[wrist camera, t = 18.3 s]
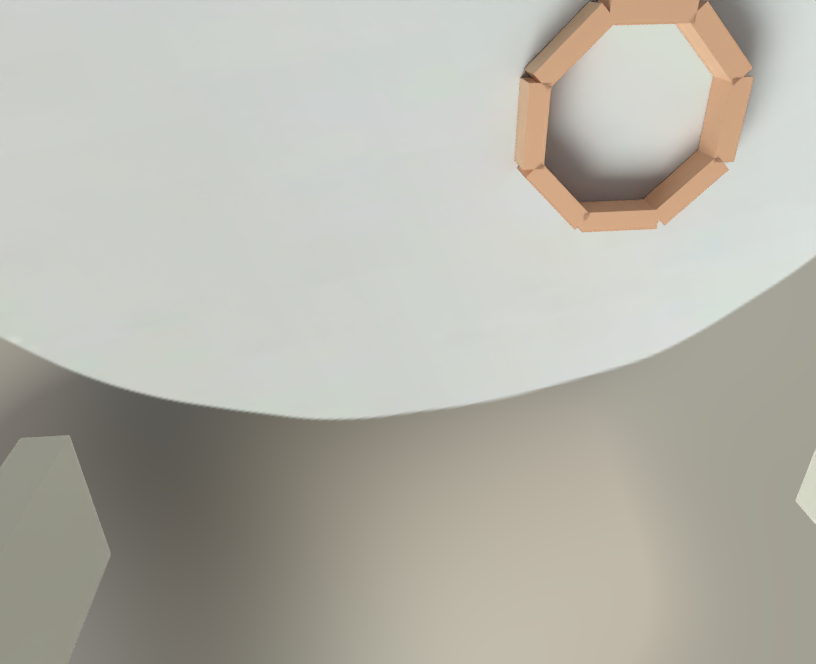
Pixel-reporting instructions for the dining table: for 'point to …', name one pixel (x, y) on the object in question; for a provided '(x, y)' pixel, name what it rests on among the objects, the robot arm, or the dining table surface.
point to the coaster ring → (720, 133)
